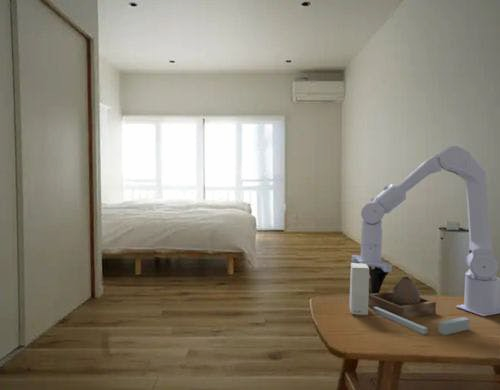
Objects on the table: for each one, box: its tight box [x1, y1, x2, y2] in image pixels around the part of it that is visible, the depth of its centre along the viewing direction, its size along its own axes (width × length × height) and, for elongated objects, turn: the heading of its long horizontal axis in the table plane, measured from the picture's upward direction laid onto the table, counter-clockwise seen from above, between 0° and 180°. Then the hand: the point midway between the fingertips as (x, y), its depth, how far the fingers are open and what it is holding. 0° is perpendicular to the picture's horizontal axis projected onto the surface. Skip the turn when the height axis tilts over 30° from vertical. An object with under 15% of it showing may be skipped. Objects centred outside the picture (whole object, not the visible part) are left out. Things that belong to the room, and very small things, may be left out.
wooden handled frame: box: [368, 277, 437, 320], centre depth 109 cm, size 12×20×5 cm, turn 25°
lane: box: [372, 307, 470, 336], centre depth 98 cm, size 12×18×2 cm
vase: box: [392, 276, 421, 306], centre depth 104 cm, size 7×7×9 cm
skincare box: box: [348, 262, 370, 316], centre depth 104 cm, size 6×4×12 cm
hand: (369, 291), depth 116 cm, fingers closed on wooden handled frame, 4 cm apart
